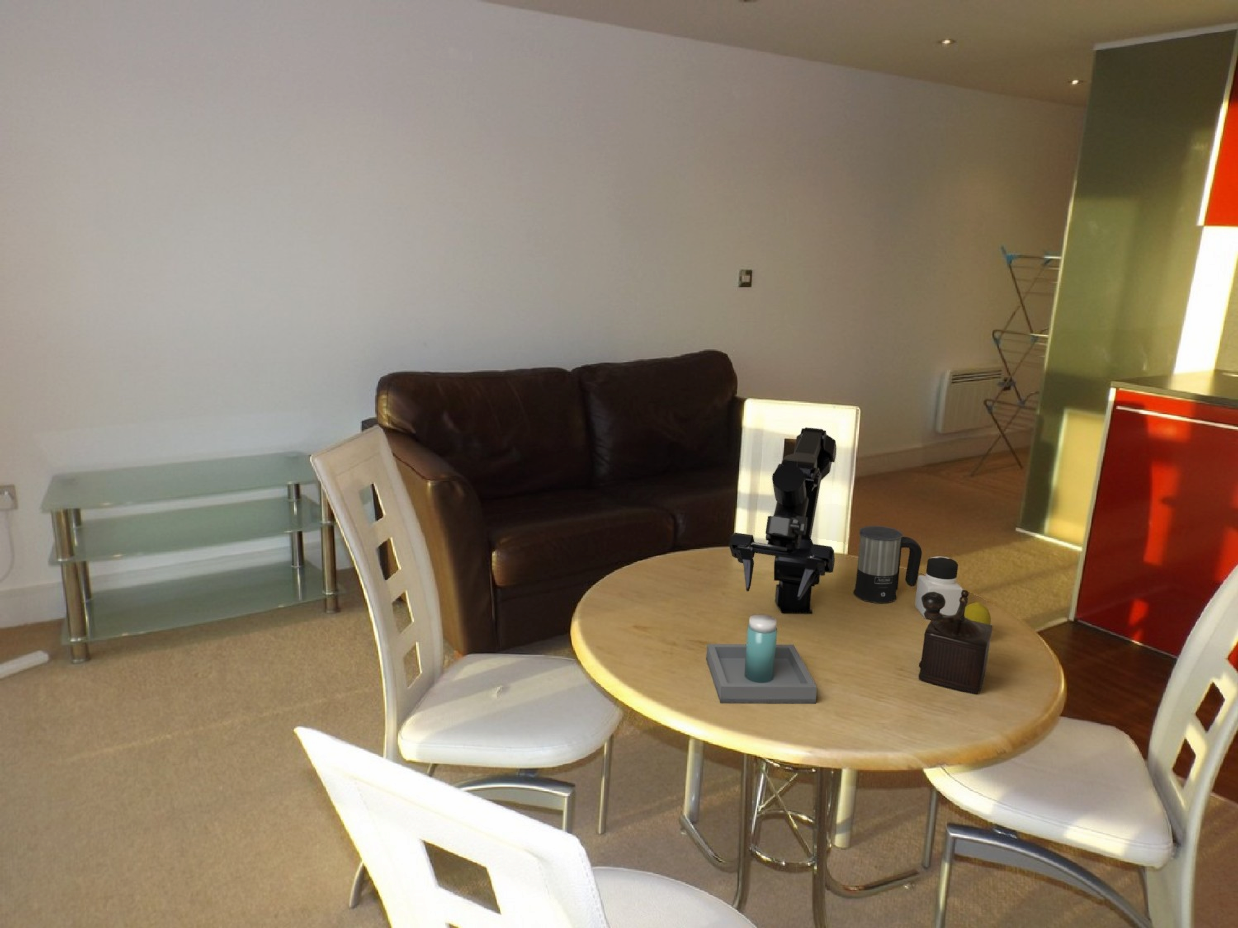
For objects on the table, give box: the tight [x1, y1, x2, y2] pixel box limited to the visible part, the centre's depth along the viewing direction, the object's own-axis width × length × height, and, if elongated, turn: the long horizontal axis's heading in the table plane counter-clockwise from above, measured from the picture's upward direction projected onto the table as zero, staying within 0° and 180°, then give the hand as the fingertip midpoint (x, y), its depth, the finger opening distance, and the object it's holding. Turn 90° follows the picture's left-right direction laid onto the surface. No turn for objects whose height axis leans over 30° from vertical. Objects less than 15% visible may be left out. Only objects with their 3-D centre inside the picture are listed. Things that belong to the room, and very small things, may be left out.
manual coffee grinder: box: [918, 589, 994, 696], centre depth 155 cm, size 16×11×18 cm
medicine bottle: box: [914, 556, 964, 620], centre depth 185 cm, size 7×7×12 cm
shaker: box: [744, 614, 778, 683], centre depth 153 cm, size 5×5×10 cm
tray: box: [705, 643, 818, 705], centre depth 154 cm, size 16×16×3 cm
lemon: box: [964, 601, 992, 625], centre depth 173 cm, size 6×6×8 cm
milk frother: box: [852, 525, 923, 604], centre depth 197 cm, size 14×16×15 cm
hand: (772, 594), depth 158 cm, fingers open, 9 cm apart
